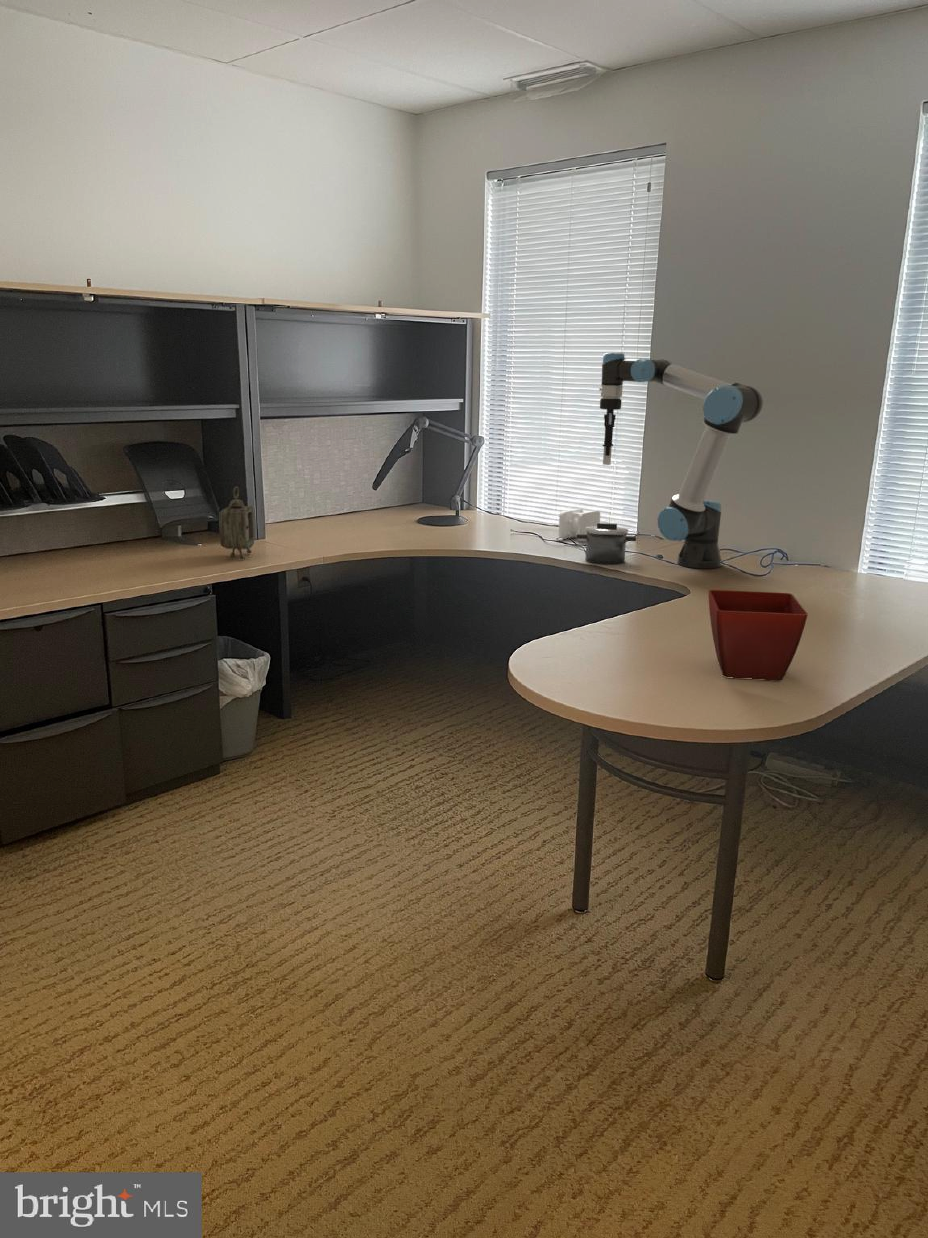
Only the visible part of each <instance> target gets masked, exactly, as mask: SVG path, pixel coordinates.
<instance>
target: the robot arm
mask: <svg viewBox="0 0 928 1238" xmlns="http://www.w3.org/2000/svg"><path fill="white" fill-rule="evenodd" d="M624 382H634V383H635V382H637V383H647V382H648V383H649V382H651V383H653V382H654V383H656V384H657V383H658V384H661V385H664V386H666V387H670V388H672V389H675V390H677V391H680V392H683V393H684V394H688V395H691V396H694V397H697V398H699V399H702V400H703V404H702V411H703V415H704V418H703V420H702V422H703V425H704V430H703V433H702V435H701V438H700V440H699V442H698V445H697V447H696V450H695V453H694V455H693V456H692V460H691V463H690V465H689V467H688V470H687V472H686V475H685V478H684V480H683V483H682V484H681V487H680V489H679V492H678V493H677V494H674V495H672V497H671V500H670V502H669V504H668V506H667V507H664V508H663V509H661V511H660V512H659V513H658V515H657V522H656V523H657V528H658V529H659V532H660V534H661V535H662V537H663V538H665V539H667V540H669V541H672V542H674V541H675V542H677V541H678V542H681V541H683V540H684V541H683V544H682V546H681V549H680V551H679V554H678V555H677V565H680V566H683V567H685V568H686V567H688V568H691V569H705V570H706V569H707V570H708V569H709V570H710V569H716V568H717V569H718V568H720V567H721V566H722V556H721V552H720V548H719V537H720V525H721V517H722V504H721V502H718V501H713V500H707V499H706V496H707V494H708V492H709V489H710V488H711V487H710V486H711V484H712V482H713V479H714V477H715V474H716V473H717V470H718V467H719V466H720V463H721V461H722V459H723V456H724V454H725V452H726V449H727V446H728V444H729V442H730V440H731V437H733V436H736V435H737V434H738V433H739V431H740V428H741V426H742V423H748V422H751V421H753V420H754V419H756V418H757V417H758V416H759V415H760V414H761V411H762V410H763V406H764V404H763V403H764V400H763V399H764V398H763V397H762V394H761V392H760V391H759V390H758V389H757V388H755V387H753V386H750V385H745V384H741V383H739V382H732V383H728V382H726V381H723V380H720V379H717V378H714V377H712V376H708V375H706V374H702V373H699V372H697V371H693V370H690V369H688V368H686V367H685V368H684V367H682V366H679V365H677V364H675V363H674V364H673V363H672V361H670V360H668V359H664V358H663V359H650V358H649V359H647V358H625V354H624V353H623V352H606V353H604V354H603V356H602V364H601V386H600V387H599V389H598V390H599V391H600V397H601V398H600V400H599V401H600V402H599V409H601V410H606V413H604V414H603V419H604V423H603V425H604V441H603V444H602V447H603V453H602V454H603V457H602V465H603V466H604V465H605V466H610V465H611V464H612V463H611V462H612V449H613V447H614V444H613V434H614V433H613V432H614V427H615V422H616V421H615V420H616V416H617V415H616V414H614V412H615V411H614V410H616V411H617V410H618V411H619V410H621V409H622V396H623V387H624V386H623V383H624Z"/></svg>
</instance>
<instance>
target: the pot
mask: <svg viewBox="0 0 928 1238" xmlns="http://www.w3.org/2000/svg"><path fill="white" fill-rule="evenodd" d="M576 539H577V540H578V539H586V541H585V543H586V544H585V557H584V558H585V561H586V562H588V563H590V564H595V565H600V566H601V565H602V566H603V565H604V566H614V565H615V566H616V565H621V564H622V565H623V564H624V563H625V561H626V558H625V557H626V545H627V544H626V543H627V542H636V541H637V536H636V535H635V536H634V535H633V536H632V535H627V534H625V535H599V534H591V533H587V534H577V537H576Z"/></svg>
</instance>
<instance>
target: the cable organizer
mask: <svg viewBox="0 0 928 1238" xmlns="http://www.w3.org/2000/svg"><path fill="white" fill-rule="evenodd" d="M558 518H559V522H558V536H559V537H558V538H561V539H563V538H564V539H563V540H567V538H568V539H570V538H577V534H587V532H586V527H591V526H597V523H601V512H600V510H596V509H595V510H590V511H584V510H583V509H582V508H573V509H567V510H563V511H562V510H561V512H560V514H558ZM577 541H580V542H582V543H583V542H586V539H577Z"/></svg>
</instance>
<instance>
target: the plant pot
mask: <svg viewBox="0 0 928 1238" xmlns="http://www.w3.org/2000/svg"><path fill="white" fill-rule="evenodd" d="M795 597H796V596H794V594H792V593H788V592H772V591H771V592H770V591H749V590H748V591H746V590H745V591H744V590H730V589H729V590H728V589H727V590H726V589H725V590H724V589H722V590H721V589H709V590H708V607H709V618H710V627H711V633H712V639H713V644H714V649H715V654H716V659H717V661H718V662H719V663H718V665H719V667H720V671H721V673H722V676H723V675H724V676H726V677H733V678H732V679H734V678H752V679H765V680H764V681H770V680H778V681H777V682H780V681H779V680H781V681H783V679H784V677H785V676H786V674H787V672H788V670H789V668H790V666H791V663H792V662H793V659H794V656H795V654H796V652H797V649H798V647H799V644H800V641H801V639H802V637H803V636H802V635H803V633H804V628H805V626H806V623H807V619H808V614H809V613H808V612H807V611H806V610H805V609H804V608H803V606H802V604H800V603H799V601H798V599H797V598H795ZM724 676H723V677H724ZM726 677H725V678H726ZM752 679H751V680H752Z"/></svg>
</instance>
